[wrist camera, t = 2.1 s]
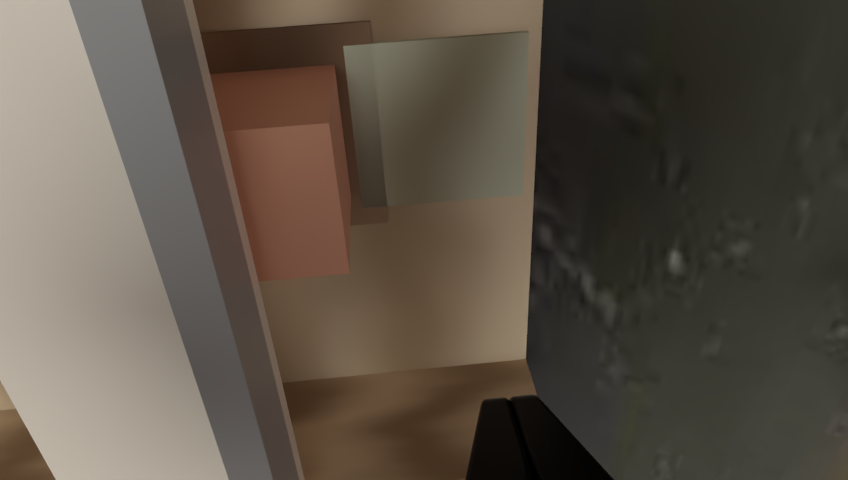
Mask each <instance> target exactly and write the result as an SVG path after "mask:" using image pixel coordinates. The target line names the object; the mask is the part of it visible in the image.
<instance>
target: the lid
mask: <svg viewBox="0 0 848 480" xmlns="http://www.w3.org/2000/svg"><path fill="white" fill-rule="evenodd" d="M0 381H1V383H2V385H3V386H4V388H5V390H6V392H7V394H8V395H9V397H10V399H11V401H12V402H13V404H14V406H15V408H16V410H17V411H18V413H19V415H20V417H21V419H22V420H23V422H24V424H25V426H26V427H27V429H28V431H29V433H30V435H31V436H32V438H33V440H34V442H35V443H36V445H37V447H38V449H39V451H40V452H41V454H42V456H43V458H44V460H45V461H46V463H47V465H48V467H49V468H50V470H51V472H52V474H53V476H54V477H55V479H56V480H305V479H304V474H303V470H302V466H301V462H300V457H299V453H298V449H297V444H296V440H295V436H294V432H293V427H292V423H291V419H290V415H289V410H288V406H287V402H286V397H285V393H284V389H283V385H282V380H281V376H280V372H279V368H278V363H277V359H276V355H275V350H274V346H273V342H272V338H271V333H270V329H269V325H268V321H267V316H266V312H265V308H264V303H263V299H262V295H261V291H260V286H259V282H258V278H257V274H256V269H255V265H254V261H253V256H252V252H251V248H250V244H249V239H248V235H247V231H246V227H245V222H244V218H243V214H242V209H241V205H240V201H239V197H238V192H237V188H236V184H235V180H234V175H233V171H232V167H231V162H230V158H229V154H228V150H227V145H226V141H225V137H224V133H223V128H222V124H221V120H220V115H219V111H218V107H217V103H216V98H215V94H214V90H213V86H212V81H211V77H210V73H209V68H208V64H207V60H206V56H205V51H204V47H203V43H202V39H201V34H200V30H199V26H198V21H197V17H196V13H195V9H194V4H193V0H0Z"/></svg>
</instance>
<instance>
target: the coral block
mask: <svg viewBox="0 0 848 480" xmlns="http://www.w3.org/2000/svg"><path fill="white" fill-rule="evenodd" d="M210 77H211V81H212V86H213V90H214V94H215V98H216V103H217V107H218V111H219V115H220V120H221V124H222V128H223V133H224V137H225V141H226V145H227V150H228V154H229V158H230V162H231V167H232V171H233V175H234V180H235V184H236V188H237V192H238V197H239V201H240V205H241V209H242V214H243V218H244V222H245V227H246V231H247V235H248V239H249V244H250V248H251V252H252V256H253V261H254V265H255V269H256V274H257V278H258V282H260V281H271V280H282V279H293V278H304V277H315V276H326V275H337V274H349V273H350V225H351V192H350V184H349V176H348V168H347V160H346V152H345V144H344V137H343V129H342V121H341V113H340V105H339V97H338V89H337V81H336V73H335V65H324V66H311V67H297V68H284V69H271V70H258V71H245V72H231V73H218V74H210Z"/></svg>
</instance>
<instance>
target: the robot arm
mask: <svg viewBox="0 0 848 480" xmlns="http://www.w3.org/2000/svg"><path fill="white" fill-rule="evenodd" d="M465 480H614V479H613V478H612V477H611V476H610V475H609V474H608V473H607V472H606V471H605V469H604V468H603V467H602V466H601V465H600V464H599V463H598V462H597V461H596V460H595V459H594V457H593V456H592V455H591V454H590V453H589V452H588V451H587V450H586V449H585V448H584V447H583V445H582V444H581V443H580V442H579V441H578V440H577V439H576V438H575V437H574V436H573V435H572V433H571V432H570V431H569V430H568V429H567V428H566V427H565V426H564V425H563V424H562V423H561V421H560V420H559V419H558V418H557V417H556V416H555V415H554V414H553V413H552V412H551V411H550V409H549V408H548V407H547V406H546V405H545V404H544V403H543V402H542V401H541V400H540V399H539V398H538V397H537V396H536V395H521V396H513V397H511V398H510V399H509V400H508V399H507V398H505V397H501V398H491V399H484V400H483V401H482V402H481V406H480V411H479V415H478V420H477V425H476V430H475V435H474V439H473V444H472V449H471V454H470V459H469V463H468V468H467V473H466V478H465Z"/></svg>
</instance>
